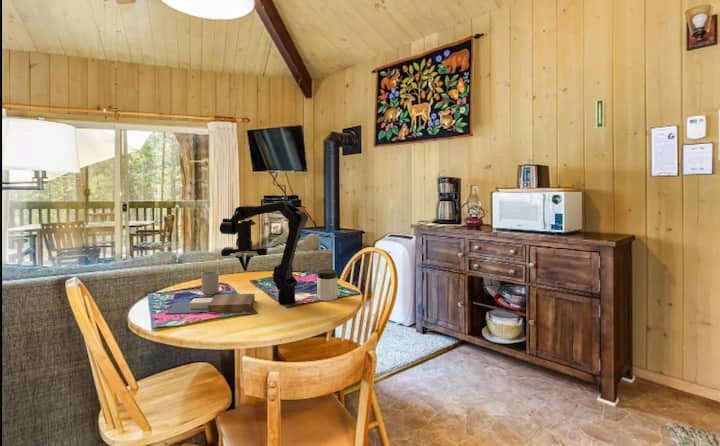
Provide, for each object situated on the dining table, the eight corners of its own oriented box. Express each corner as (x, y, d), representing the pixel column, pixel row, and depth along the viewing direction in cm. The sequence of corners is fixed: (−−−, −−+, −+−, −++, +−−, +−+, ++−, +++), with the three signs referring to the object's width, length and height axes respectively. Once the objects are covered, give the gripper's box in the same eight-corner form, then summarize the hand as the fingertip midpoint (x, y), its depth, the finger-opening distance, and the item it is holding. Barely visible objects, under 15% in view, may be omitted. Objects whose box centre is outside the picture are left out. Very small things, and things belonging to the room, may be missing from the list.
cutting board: (254, 300, 181) (254, 293, 181) (250, 311, 167) (250, 303, 167) (215, 301, 179) (215, 294, 179) (208, 312, 165) (208, 305, 165)
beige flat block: (213, 303, 176) (213, 297, 175) (210, 308, 170) (210, 302, 169) (193, 304, 175) (193, 298, 174) (189, 308, 169) (189, 302, 168)
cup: (205, 295, 188) (204, 275, 187) (197, 290, 195) (196, 271, 194) (221, 292, 193) (220, 273, 191) (212, 287, 200) (212, 269, 199)
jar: (315, 296, 188) (315, 269, 186) (332, 294, 191) (332, 268, 189) (321, 302, 179) (321, 274, 178) (339, 299, 183) (339, 272, 181)
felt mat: (215, 301, 179) (215, 300, 179) (208, 312, 165) (208, 311, 165) (176, 303, 177) (176, 302, 177) (165, 314, 163) (165, 313, 163)
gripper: (268, 232, 190) (269, 266, 192) (225, 232, 188) (226, 267, 190) (266, 236, 179) (266, 272, 181) (220, 236, 177) (221, 273, 179)
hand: (245, 270), depth 183 cm, fingers closed
